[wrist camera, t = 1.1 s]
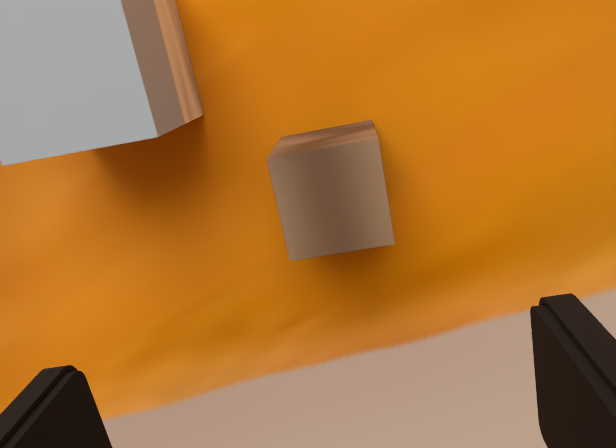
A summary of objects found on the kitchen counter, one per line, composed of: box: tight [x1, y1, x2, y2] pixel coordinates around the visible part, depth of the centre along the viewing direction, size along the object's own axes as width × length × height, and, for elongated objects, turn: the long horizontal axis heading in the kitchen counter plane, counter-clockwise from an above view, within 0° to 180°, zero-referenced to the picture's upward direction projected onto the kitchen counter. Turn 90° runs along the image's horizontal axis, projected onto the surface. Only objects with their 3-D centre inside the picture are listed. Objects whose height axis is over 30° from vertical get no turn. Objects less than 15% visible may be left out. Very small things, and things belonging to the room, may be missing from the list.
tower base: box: [154, 0, 204, 124], centre depth 27 cm, size 7×7×4 cm
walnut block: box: [267, 120, 395, 261], centre depth 27 cm, size 5×5×6 cm
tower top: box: [0, 0, 185, 166], centre depth 23 cm, size 7×7×4 cm
